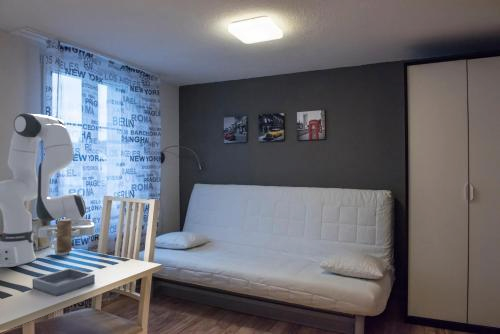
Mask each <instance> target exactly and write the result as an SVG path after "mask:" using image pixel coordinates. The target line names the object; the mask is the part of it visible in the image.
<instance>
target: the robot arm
mask: <svg viewBox="0 0 500 334" xmlns="http://www.w3.org/2000/svg"><path fill="white" fill-rule="evenodd" d="M13 129H14V131H13V133H12V138H11V141H10V145H9V151H8V158H7V166H8V168H9V169H10V170H11V171H12V173H13V174H12V175H13V178H12V179H4V180H1V181H0V211H1V213H2V219H3V231H2V232H1V233H0V268H12V267H17V266H19V265H24V264H28V263H31V262H33V261H35V260H36V259H37V257H36V253H35V250H34V249H33V230H32V219H33V217H32V213H31V212H30V211H29V210H27V208H26V206H25V202H27V201H28V202H29V201H32V200H34V199H36V206H35V207H36V211H35V212H36V216H37V218H39V219H41V220H43V221H45V222H49V221H50V222H51V221H55V220H56V221H57V220H60V219H62V218H63V219H71V220H72V232H71V237H72V240H73V239H75V238H79V237H85V236H86V237H87V236H94V235H95V223H94V220H93V219H92V218H91V219H90V218H86V216H85V215H86V213H87V208H86V207H87V206H86V203H85V200H84V198H83V197H82V196H81V195H79V193H76V192H74V193H67V194H63V195H60V196H59V195H58V196H54V197H50V188H51V187H50V185H51V184H50V183H51V179H52V177H53V176H54V175H55V174H56V173H58V172H60V171H61V170H63V169H65V168H67V167H68V166H69V165H70V164H71V163H73V162H72V161H73V160H74V158H75V157H74V147H73V142H72V139H71V136H70V133H69V131H68V128H67V127H66V124H65V122H64V121H63V120H62V119H59V118H57V117H54V116H49V115H45V114H36V113H35V114H33V113H30V112H29V113H28V112H25V113H20V114H18V115H17V116H16V117H15V119H14V120H13ZM41 141H43V145H44V151H45V155H44V157H43V158H44V159H43V161H41V162H40V163H39V165H38V172H37V170H36V167H37V166H36V165H37V157H38V150H39V145H40V144H39V143H40V142H41ZM38 237H40V238H47V237H51V238H52V239H53V238H54V239H55V238H57V224H53V225H51V224H50V225H49V226H44V227H41V228H39V229H38Z"/></svg>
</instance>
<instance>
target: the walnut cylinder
mask: <svg viewBox="0 0 500 334" xmlns="http://www.w3.org/2000/svg"><path fill="white" fill-rule="evenodd" d="M56 225H57V237H56V238H57V252H58V253H67V252H69V253H70V252H72V251H73V250H72V249H73V248H72V247H73V246H72V245H73V244H72V242H73V241H72V240H73V239H72V237H71V232H72V220H71V219H65V218H63V219H62V218H61V219H56Z"/></svg>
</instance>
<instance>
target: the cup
mask: <svg viewBox="0 0 500 334" xmlns="http://www.w3.org/2000/svg"><path fill="white" fill-rule="evenodd" d="M49 248H50V249H51V250H53V251H54V254H55V255H56V256H66V255H68V254H69V253H70V252H67V253H58V252H57V237H54V239H52V240H51V242H50V246H49Z"/></svg>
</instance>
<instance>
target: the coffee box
mask: <svg viewBox="0 0 500 334" xmlns="http://www.w3.org/2000/svg"><path fill="white" fill-rule="evenodd" d="M49 225H51V221H49V222H45V221H43V220H41V219H39V218H38V217H35V218H32V230H33V249H34V251H39V250H42V249H45V248H48V247H49V248H50V242H51V241H52V239H51V238H52V237H47V238H40V237H38V229H39V228H41V227H44V226H49Z"/></svg>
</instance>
